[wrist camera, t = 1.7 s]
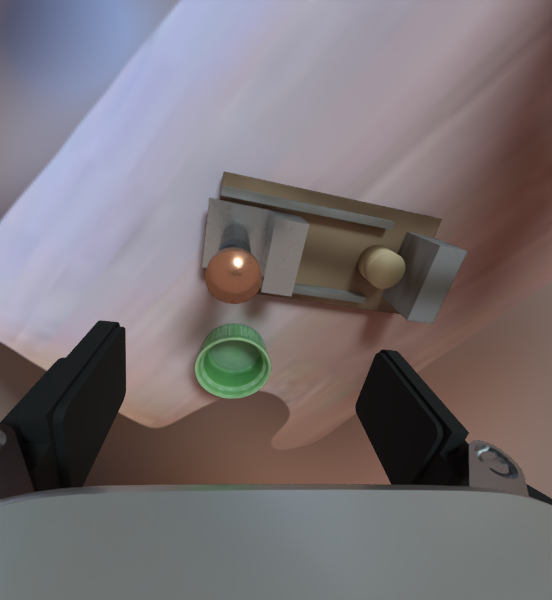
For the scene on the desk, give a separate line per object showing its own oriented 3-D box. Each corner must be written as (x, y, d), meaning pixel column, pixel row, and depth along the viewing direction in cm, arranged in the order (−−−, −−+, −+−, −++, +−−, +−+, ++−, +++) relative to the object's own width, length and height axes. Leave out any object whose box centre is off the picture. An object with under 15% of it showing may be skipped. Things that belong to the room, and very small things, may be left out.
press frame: (224, 171, 29) (220, 174, 22) (433, 217, 33) (482, 231, 27) (210, 282, 34) (204, 312, 27) (395, 308, 38) (428, 340, 32)
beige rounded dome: (363, 242, 32) (376, 249, 29) (396, 248, 33) (411, 256, 30) (352, 275, 34) (363, 285, 31) (383, 280, 35) (396, 291, 32)
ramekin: (211, 310, 35) (208, 328, 31) (278, 330, 38) (283, 350, 34) (190, 366, 39) (184, 389, 35) (253, 382, 41) (255, 405, 37)
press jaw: (209, 197, 28) (193, 218, 18) (298, 215, 30) (331, 243, 19) (202, 265, 31) (184, 317, 20) (284, 277, 33) (305, 332, 22)
